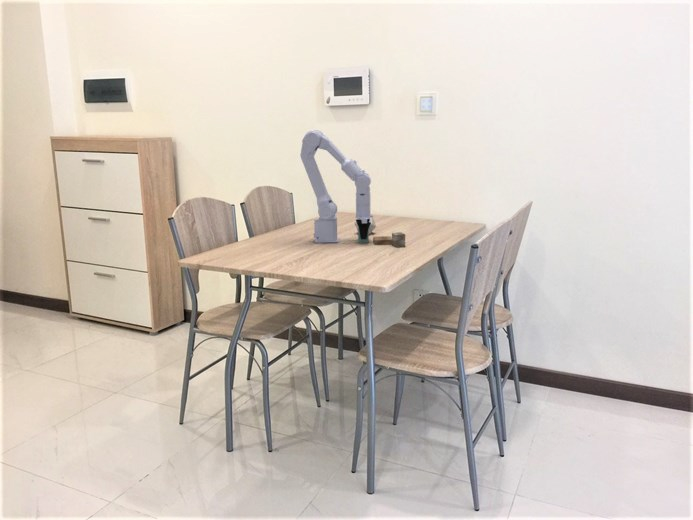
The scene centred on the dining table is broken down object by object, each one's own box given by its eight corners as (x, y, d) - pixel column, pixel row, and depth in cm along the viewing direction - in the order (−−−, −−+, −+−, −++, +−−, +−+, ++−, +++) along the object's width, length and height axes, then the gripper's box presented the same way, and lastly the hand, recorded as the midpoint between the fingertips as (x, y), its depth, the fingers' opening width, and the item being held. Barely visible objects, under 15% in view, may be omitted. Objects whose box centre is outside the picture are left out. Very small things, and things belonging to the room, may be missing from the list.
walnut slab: (374, 246, 228) (374, 240, 227) (373, 242, 234) (373, 236, 234) (392, 245, 228) (392, 239, 227) (390, 242, 235) (390, 236, 234)
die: (362, 237, 245) (376, 219, 243) (347, 226, 248) (361, 208, 247) (369, 241, 252) (382, 223, 251) (355, 229, 255) (368, 212, 254)
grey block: (395, 247, 223) (395, 234, 222) (391, 245, 227) (391, 232, 226) (405, 246, 224) (405, 234, 223) (401, 244, 228) (401, 232, 227)
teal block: (358, 242, 232) (358, 230, 231) (358, 240, 236) (357, 228, 235) (368, 242, 232) (368, 230, 231) (367, 240, 236) (367, 228, 235)
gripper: (374, 207, 224) (374, 241, 227) (371, 201, 238) (371, 234, 241) (356, 207, 223) (356, 241, 227) (354, 201, 238) (354, 234, 241)
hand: (363, 238), depth 234 cm, fingers closed on teal block, 4 cm apart
